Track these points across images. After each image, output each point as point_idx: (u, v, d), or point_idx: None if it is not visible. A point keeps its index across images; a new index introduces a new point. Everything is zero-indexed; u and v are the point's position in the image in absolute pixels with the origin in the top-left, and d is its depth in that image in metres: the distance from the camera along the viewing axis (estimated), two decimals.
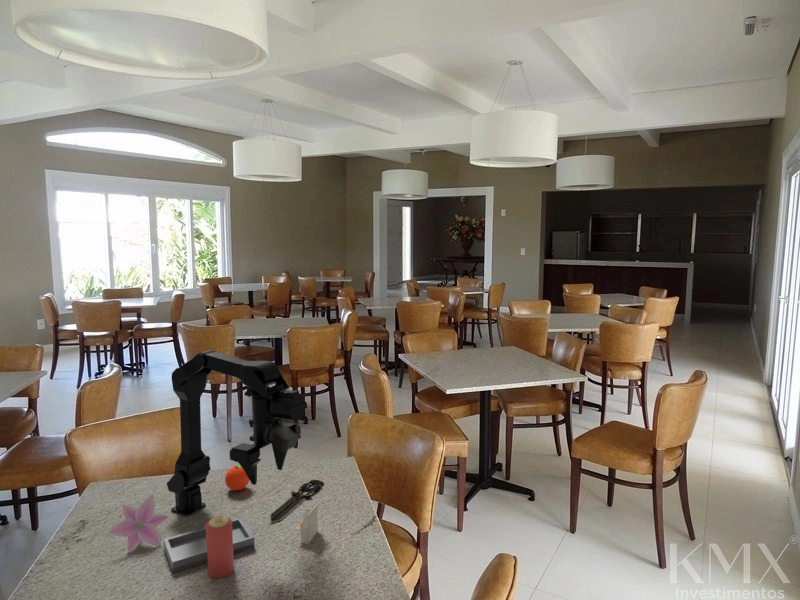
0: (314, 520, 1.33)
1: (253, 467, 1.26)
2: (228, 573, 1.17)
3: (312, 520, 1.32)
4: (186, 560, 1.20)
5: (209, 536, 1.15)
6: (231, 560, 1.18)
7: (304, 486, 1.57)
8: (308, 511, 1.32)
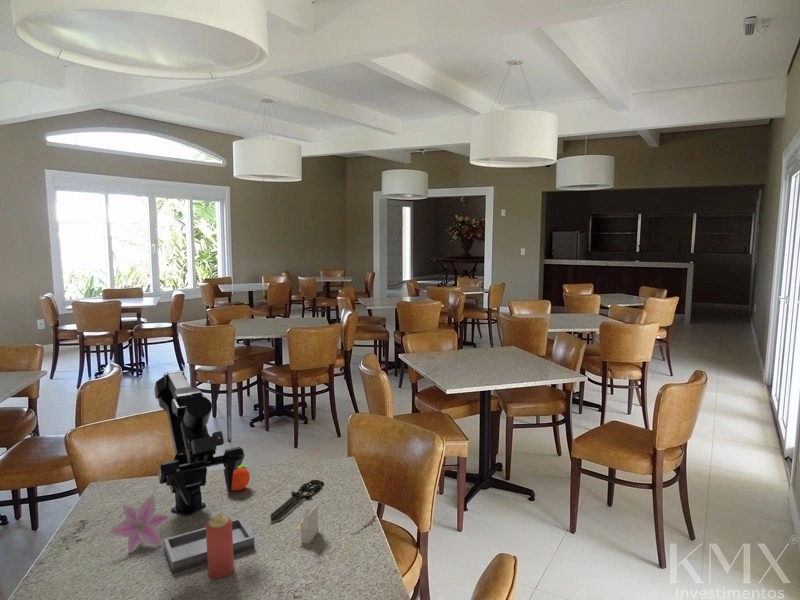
0: (314, 520, 1.33)
1: (178, 482, 1.22)
2: (228, 573, 1.17)
3: (313, 520, 1.32)
4: (186, 560, 1.20)
5: (209, 536, 1.15)
6: (231, 560, 1.18)
7: (304, 486, 1.57)
8: (308, 511, 1.32)
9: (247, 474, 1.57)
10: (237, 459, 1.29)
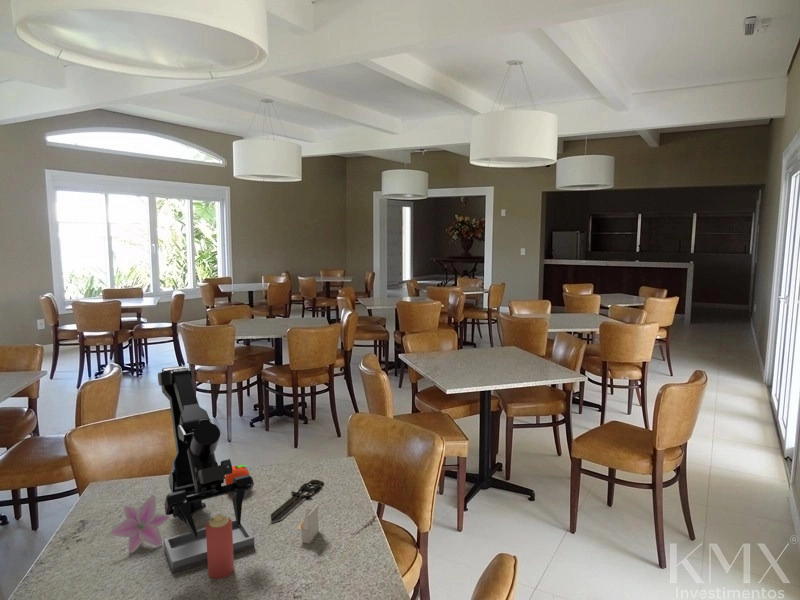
0: (315, 520, 1.33)
1: (185, 514, 1.17)
2: (228, 573, 1.17)
3: (313, 520, 1.32)
4: (186, 560, 1.20)
5: (209, 536, 1.15)
6: (231, 560, 1.18)
7: (304, 486, 1.57)
8: (309, 511, 1.32)
9: (247, 474, 1.57)
10: (246, 488, 1.24)
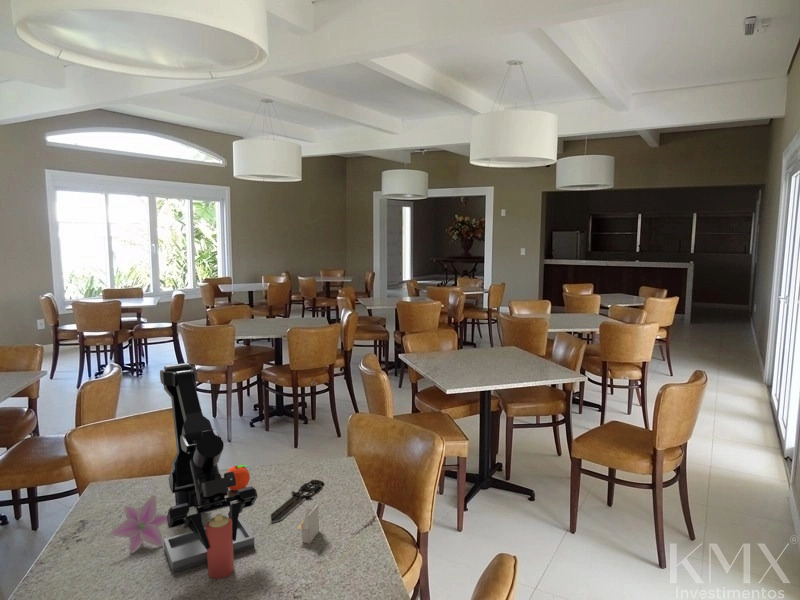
0: (315, 520, 1.33)
1: (196, 525, 1.16)
2: (228, 573, 1.17)
3: (313, 520, 1.32)
4: (186, 560, 1.20)
5: (209, 536, 1.15)
6: (231, 560, 1.18)
7: (304, 486, 1.57)
8: (309, 511, 1.32)
9: (247, 474, 1.57)
10: (242, 502, 1.22)
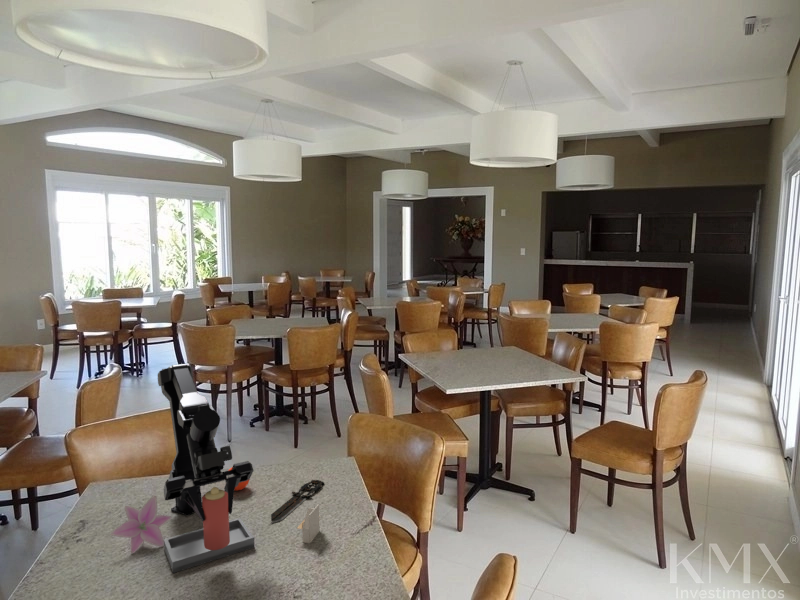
0: (316, 520, 1.33)
1: (192, 497, 1.18)
2: (224, 545, 1.19)
3: (314, 520, 1.32)
4: (186, 560, 1.20)
5: (206, 508, 1.17)
6: (227, 532, 1.19)
7: (305, 486, 1.57)
8: (310, 511, 1.32)
9: None
10: (238, 476, 1.23)
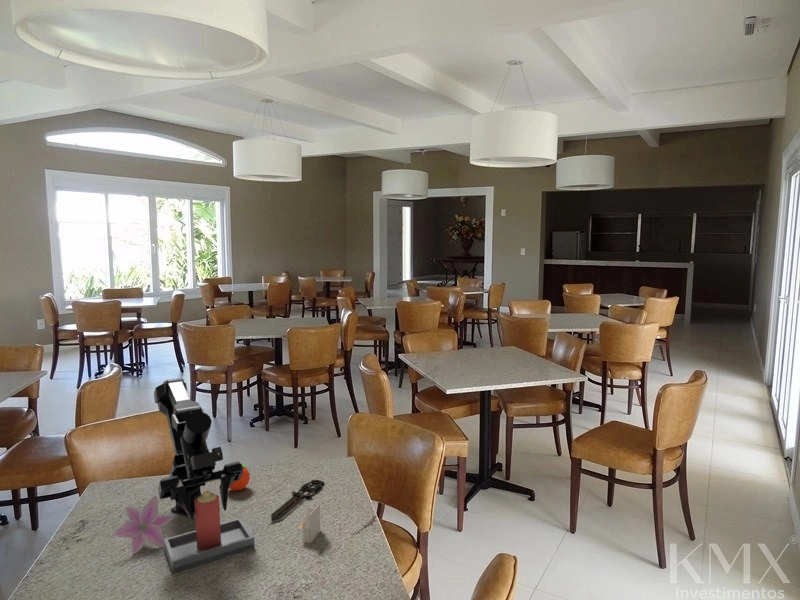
0: (317, 519, 1.33)
1: (181, 496, 1.24)
2: (215, 545, 1.26)
3: (315, 519, 1.32)
4: (186, 560, 1.20)
5: (198, 511, 1.24)
6: (218, 534, 1.27)
7: (305, 486, 1.57)
8: (311, 510, 1.32)
9: (247, 474, 1.57)
10: (232, 475, 1.31)
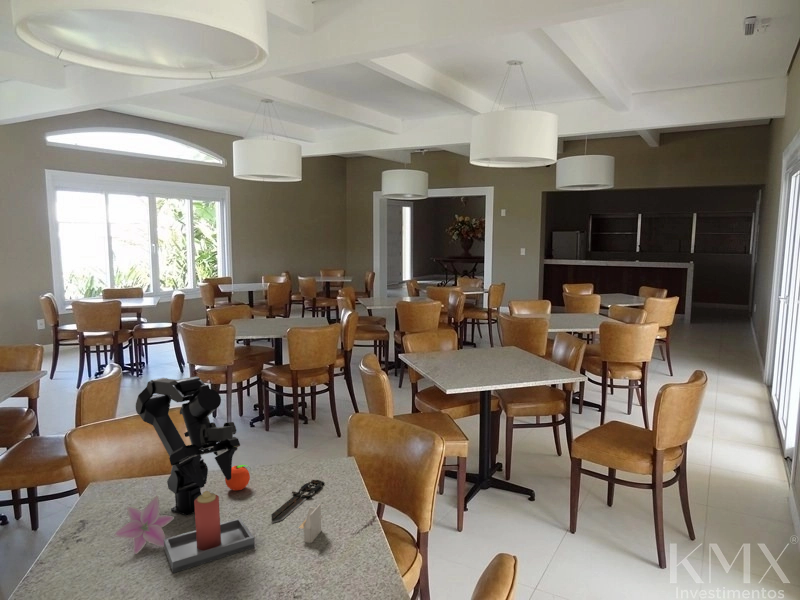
0: (317, 519, 1.33)
1: (196, 465, 1.29)
2: (215, 546, 1.26)
3: (316, 519, 1.32)
4: (186, 560, 1.20)
5: (198, 511, 1.24)
6: (218, 534, 1.27)
7: (305, 486, 1.57)
8: (311, 510, 1.32)
9: (247, 474, 1.57)
10: (236, 448, 1.42)
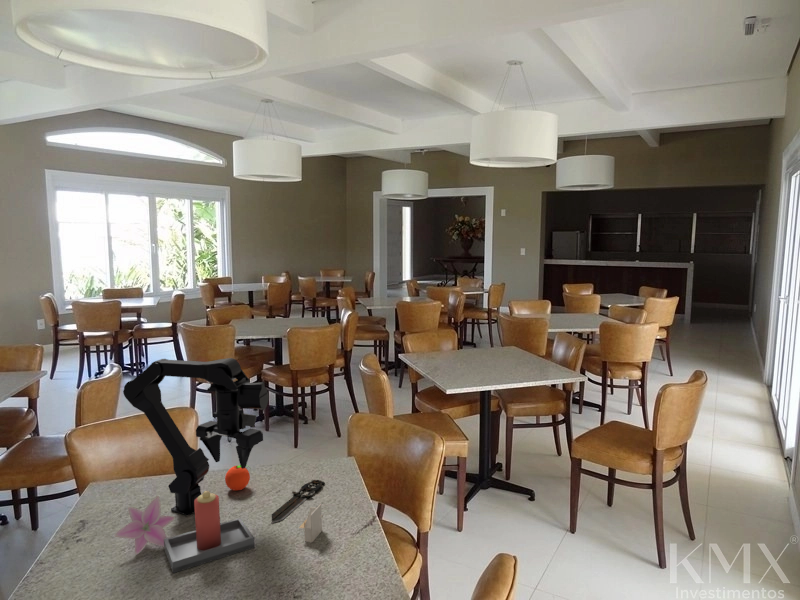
0: (318, 519, 1.33)
1: None
2: (215, 545, 1.26)
3: (316, 519, 1.32)
4: (186, 560, 1.20)
5: (198, 511, 1.24)
6: (218, 534, 1.27)
7: (305, 486, 1.57)
8: (312, 510, 1.32)
9: (247, 474, 1.57)
10: None
